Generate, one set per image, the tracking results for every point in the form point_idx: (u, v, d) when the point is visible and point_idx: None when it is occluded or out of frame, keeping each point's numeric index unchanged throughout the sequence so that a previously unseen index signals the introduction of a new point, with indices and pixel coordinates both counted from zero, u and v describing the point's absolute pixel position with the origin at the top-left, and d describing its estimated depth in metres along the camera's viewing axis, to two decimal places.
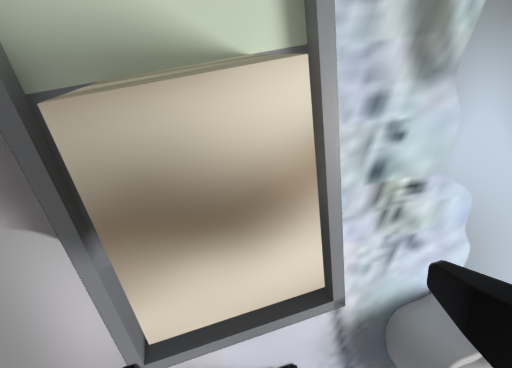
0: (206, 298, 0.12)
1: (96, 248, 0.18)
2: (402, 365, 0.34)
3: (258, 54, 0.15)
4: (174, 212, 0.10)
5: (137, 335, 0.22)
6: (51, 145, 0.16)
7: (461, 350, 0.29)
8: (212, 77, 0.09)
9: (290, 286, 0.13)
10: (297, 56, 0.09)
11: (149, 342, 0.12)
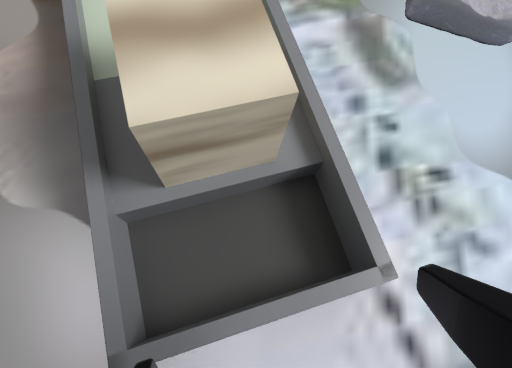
0: (184, 87, 0.14)
1: (109, 190, 0.20)
2: None
3: None
4: (163, 21, 0.15)
5: (128, 313, 0.17)
6: (99, 108, 0.22)
7: None
8: None
9: (263, 86, 0.14)
10: None
11: (129, 124, 0.13)
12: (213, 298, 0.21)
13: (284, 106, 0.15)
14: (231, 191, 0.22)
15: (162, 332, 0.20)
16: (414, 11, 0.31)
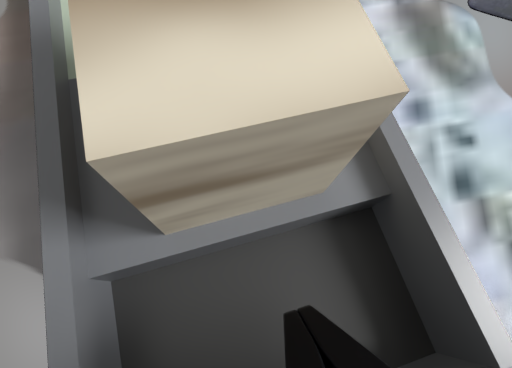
0: (198, 82, 0.07)
1: (82, 240, 0.13)
2: None
3: None
4: None
5: None
6: (74, 118, 0.16)
7: None
8: None
9: (343, 80, 0.08)
10: None
11: (88, 156, 0.06)
12: None
13: (373, 116, 0.09)
14: (260, 236, 0.16)
15: None
16: None
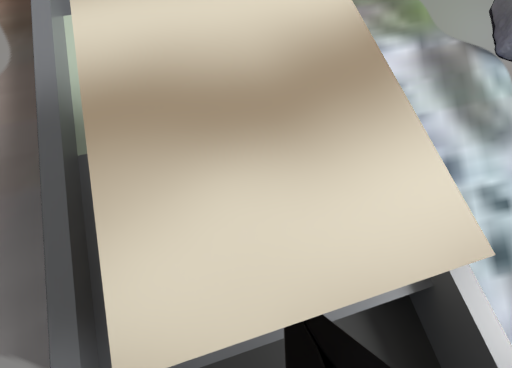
0: (245, 255, 0.06)
1: (95, 355, 0.12)
2: None
3: None
4: (192, 92, 0.07)
5: None
6: (84, 203, 0.14)
7: None
8: None
9: (416, 243, 0.06)
10: None
11: None
12: None
13: None
14: None
15: None
16: None
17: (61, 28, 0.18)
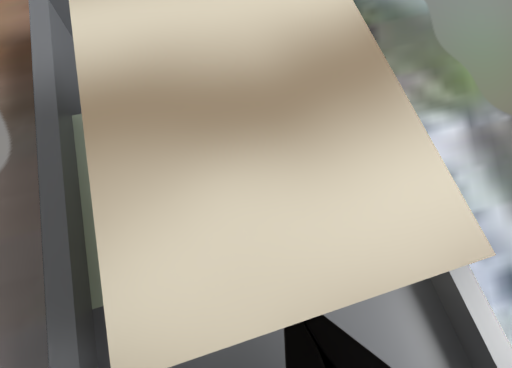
0: (244, 255, 0.06)
1: None
2: None
3: None
4: (191, 91, 0.07)
5: None
6: None
7: None
8: None
9: (416, 243, 0.06)
10: None
11: None
12: None
13: None
14: None
15: None
16: None
17: (70, 136, 0.15)
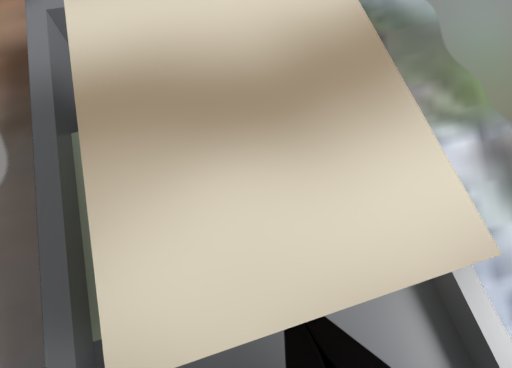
0: (243, 254, 0.06)
1: None
2: None
3: None
4: (189, 86, 0.07)
5: None
6: None
7: None
8: None
9: (420, 242, 0.06)
10: None
11: None
12: None
13: None
14: None
15: None
16: None
17: (69, 156, 0.14)
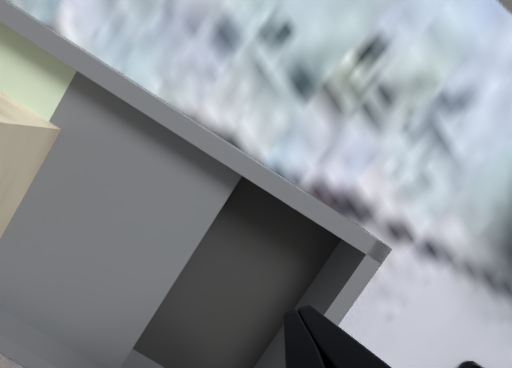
0: None
1: (89, 364, 0.18)
2: None
3: None
4: None
5: None
6: None
7: None
8: None
9: None
10: None
11: None
12: (249, 345, 0.21)
13: None
14: (187, 262, 0.19)
15: None
16: None
17: None
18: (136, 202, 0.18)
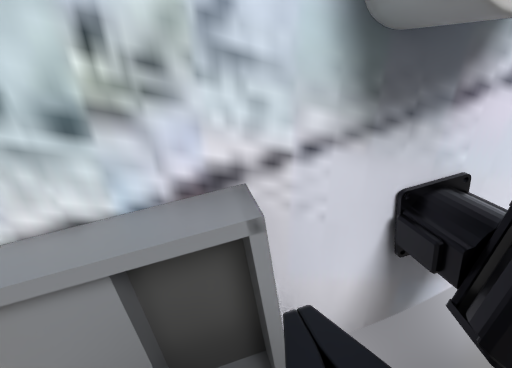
0: None
1: None
2: None
3: None
4: None
5: None
6: None
7: None
8: None
9: None
10: None
11: None
12: (244, 316, 0.24)
13: None
14: (144, 326, 0.21)
15: (263, 342, 0.26)
16: None
17: None
18: (54, 346, 0.18)
